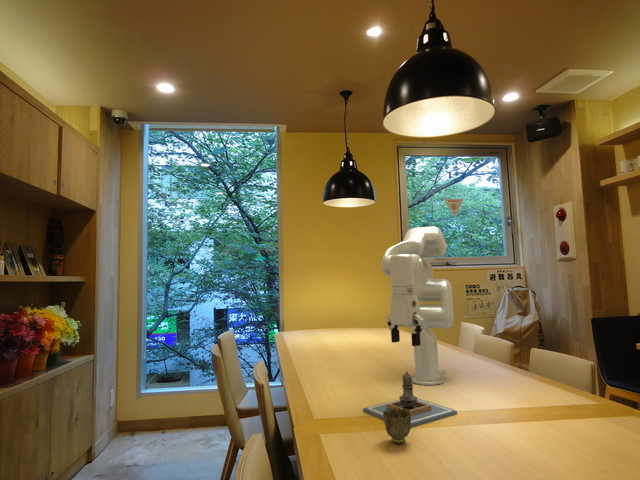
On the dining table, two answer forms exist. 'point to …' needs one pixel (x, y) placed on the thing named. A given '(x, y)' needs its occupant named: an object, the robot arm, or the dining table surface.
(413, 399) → the dark grey chess piece
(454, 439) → the dining table surface
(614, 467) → the dining table surface
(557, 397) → the dining table surface
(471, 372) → the dining table surface
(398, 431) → the cup
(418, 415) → the board
